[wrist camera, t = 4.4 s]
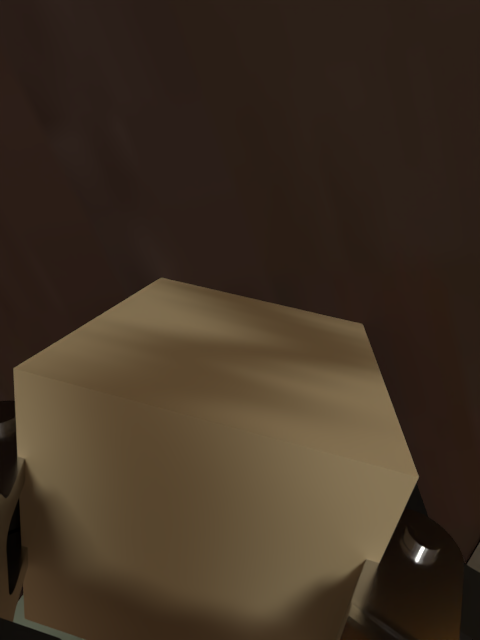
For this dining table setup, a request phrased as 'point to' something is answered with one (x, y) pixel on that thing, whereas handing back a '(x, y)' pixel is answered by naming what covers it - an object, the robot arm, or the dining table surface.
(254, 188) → the dining table surface
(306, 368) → the maple cube
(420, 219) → the dining table surface
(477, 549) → the card
